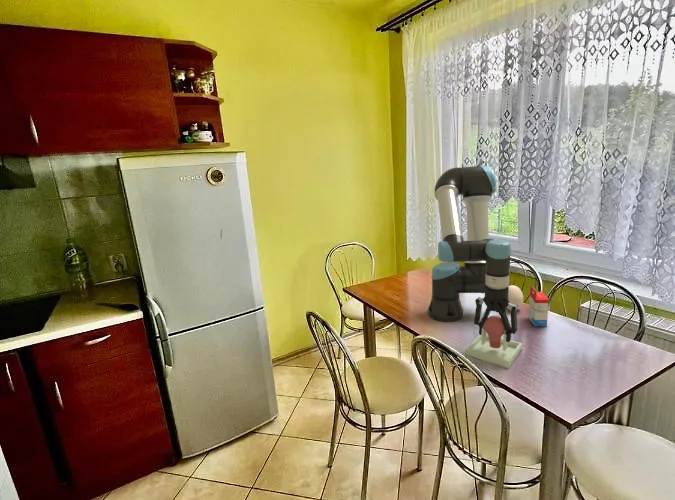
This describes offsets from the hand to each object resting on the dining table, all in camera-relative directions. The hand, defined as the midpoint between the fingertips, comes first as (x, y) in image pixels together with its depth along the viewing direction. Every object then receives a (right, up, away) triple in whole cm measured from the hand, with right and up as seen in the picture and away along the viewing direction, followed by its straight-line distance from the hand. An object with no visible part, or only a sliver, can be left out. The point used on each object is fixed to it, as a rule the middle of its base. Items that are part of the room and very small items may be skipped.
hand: (494, 346), depth 132 cm
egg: (+22, +7, +33) cm, 40 cm away
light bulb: (0, -1, 0) cm, 1 cm away
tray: (0, -2, +1) cm, 3 cm away
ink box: (+26, +4, +20) cm, 34 cm away
